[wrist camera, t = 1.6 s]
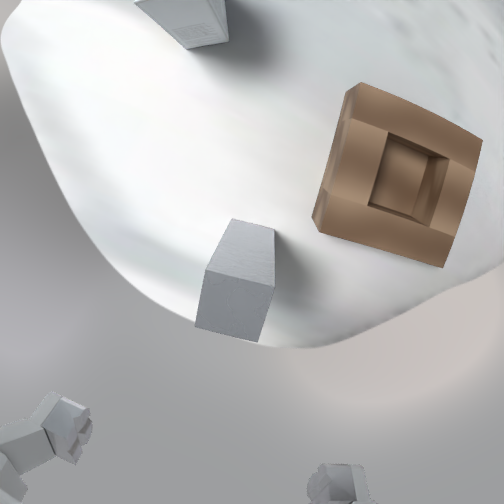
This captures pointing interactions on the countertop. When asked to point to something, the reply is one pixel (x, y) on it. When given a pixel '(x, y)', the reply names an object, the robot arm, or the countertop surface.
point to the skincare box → (189, 20)
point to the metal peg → (239, 282)
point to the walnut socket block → (396, 177)
